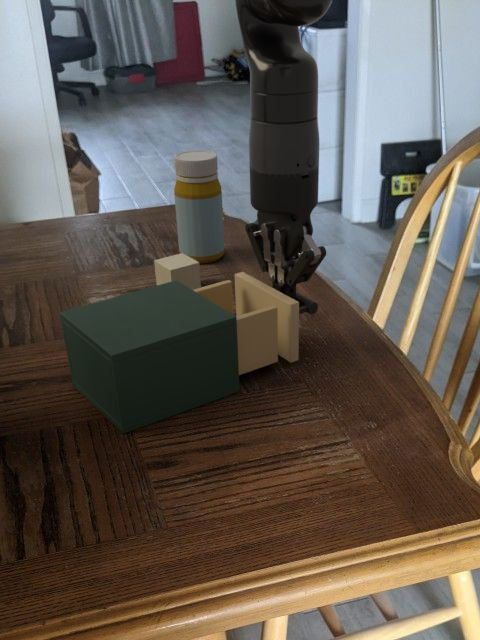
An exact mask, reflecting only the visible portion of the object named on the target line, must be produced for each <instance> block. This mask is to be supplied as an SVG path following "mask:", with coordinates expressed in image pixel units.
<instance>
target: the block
mask: <svg viewBox="0 0 480 640" xmlns="http://www.w3.org/2000/svg"><path fill="white" fill-rule="evenodd" d="M153 263H154V273H155V281H156V286H157V285H161V284H165V283H168V282H172V281H176V280H177V281H179V282H180V283H182V284H184V285H185V286H187V287H188V288H190V289H192V290H194V289H198V288H201V287H202V284H201V283H202V281H201V268H200V264H199V262H197V261H196V260H194V259H192V258H190V257H189V256H187V255H185V254H183V253H181V254H180V253H177V254H174V255H169V256H166V257H165V256H164V257H162V258H161V257H160V258H158V259H154V260H153Z"/></svg>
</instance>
